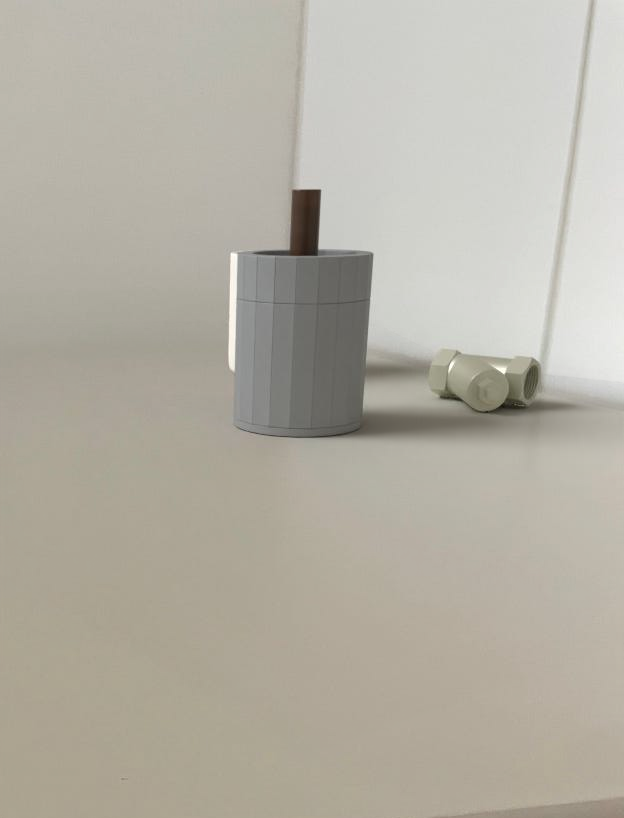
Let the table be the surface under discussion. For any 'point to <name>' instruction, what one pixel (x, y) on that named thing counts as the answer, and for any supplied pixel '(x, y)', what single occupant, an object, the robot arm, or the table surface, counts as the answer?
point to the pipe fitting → (485, 379)
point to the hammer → (305, 222)
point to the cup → (301, 341)
